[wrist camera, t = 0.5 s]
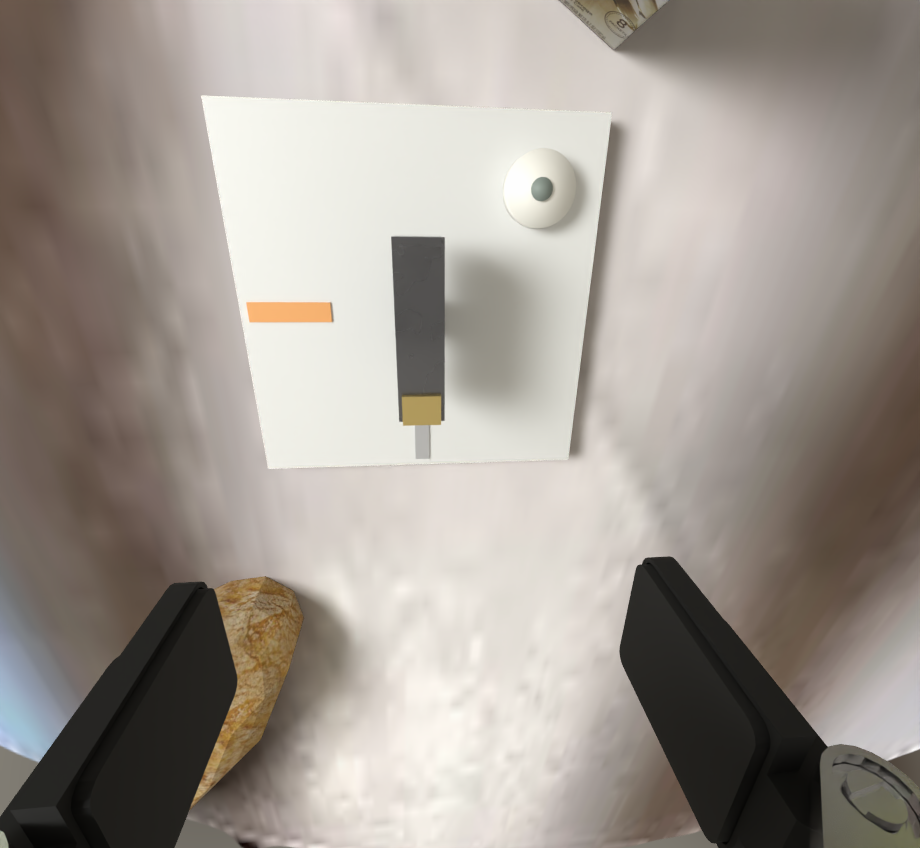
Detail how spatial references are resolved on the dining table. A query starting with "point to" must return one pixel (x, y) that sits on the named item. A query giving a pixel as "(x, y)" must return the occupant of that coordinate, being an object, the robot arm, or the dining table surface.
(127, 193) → the dining table surface
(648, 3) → the coffee box
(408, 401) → the grey block with gold
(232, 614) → the bread
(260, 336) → the level plate
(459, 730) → the dining table surface
